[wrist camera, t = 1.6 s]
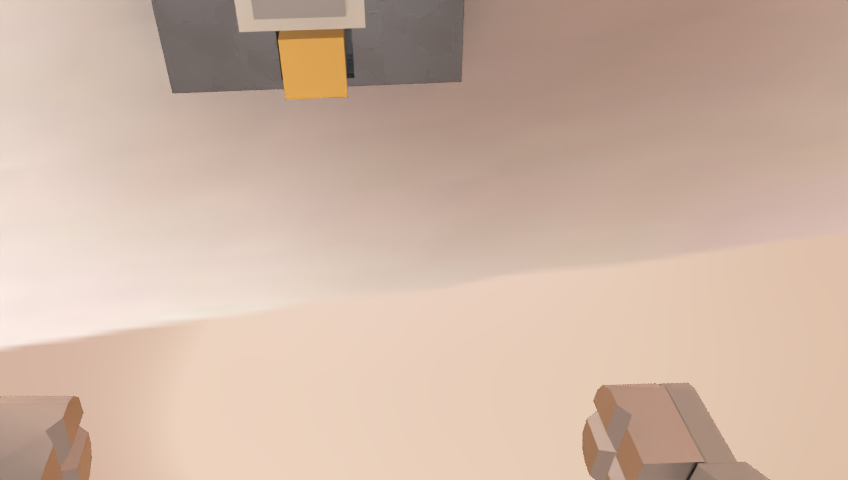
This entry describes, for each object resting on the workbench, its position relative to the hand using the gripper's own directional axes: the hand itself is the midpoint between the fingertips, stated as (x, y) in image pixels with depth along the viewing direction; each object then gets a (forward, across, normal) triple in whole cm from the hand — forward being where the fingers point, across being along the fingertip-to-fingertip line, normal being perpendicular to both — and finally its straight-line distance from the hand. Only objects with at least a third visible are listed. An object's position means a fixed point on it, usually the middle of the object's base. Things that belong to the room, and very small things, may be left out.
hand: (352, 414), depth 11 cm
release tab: (+22, 0, +2) cm, 22 cm away
